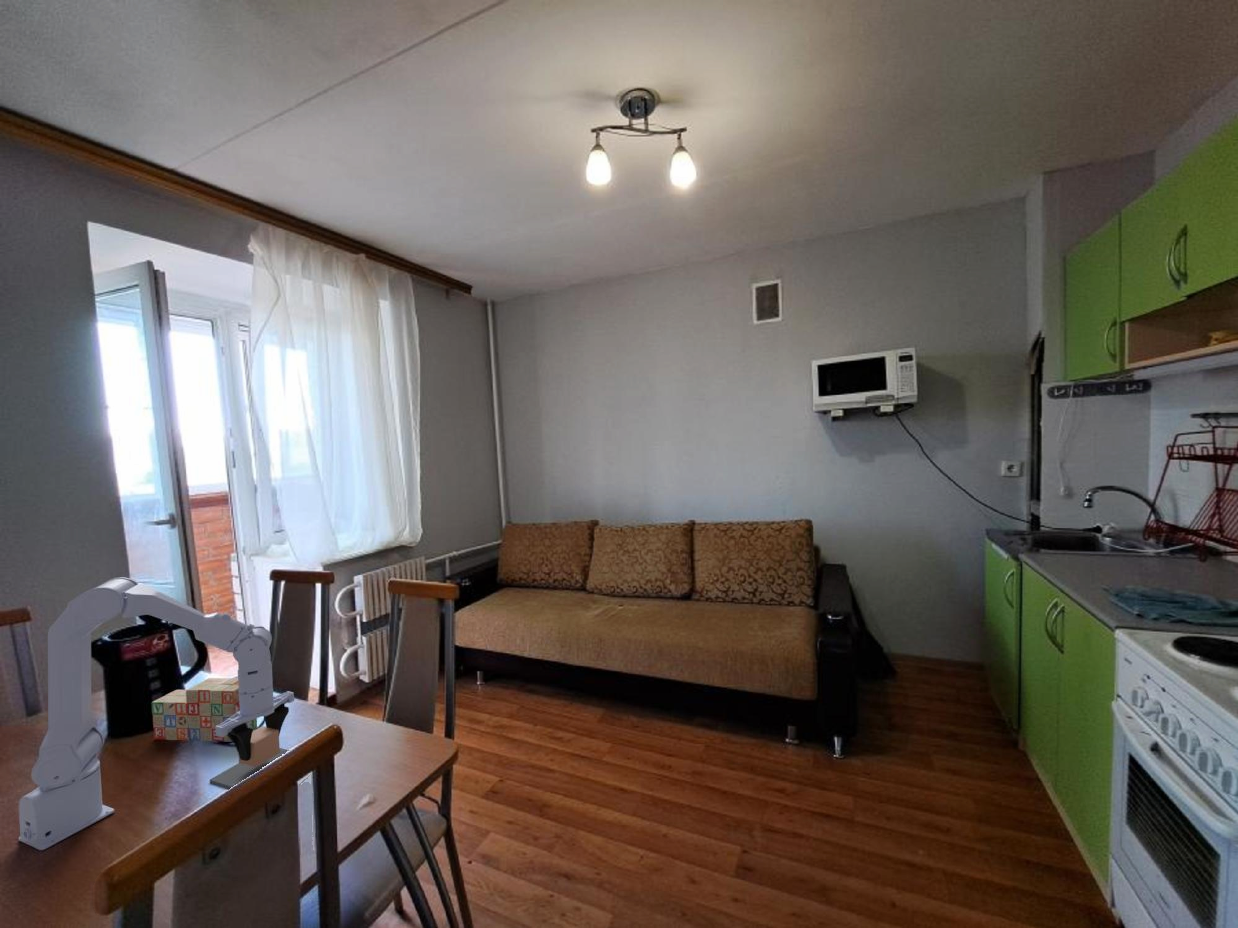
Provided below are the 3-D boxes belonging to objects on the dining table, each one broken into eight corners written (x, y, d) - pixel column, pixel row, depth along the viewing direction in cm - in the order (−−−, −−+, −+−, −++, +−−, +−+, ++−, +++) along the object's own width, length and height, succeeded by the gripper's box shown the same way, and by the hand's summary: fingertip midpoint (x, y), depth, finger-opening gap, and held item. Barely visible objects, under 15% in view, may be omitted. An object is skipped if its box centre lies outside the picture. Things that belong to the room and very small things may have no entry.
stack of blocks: (152, 740, 114) (149, 689, 114) (179, 725, 121) (176, 676, 120) (236, 742, 113) (233, 690, 112) (258, 726, 119) (255, 677, 119)
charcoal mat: (249, 794, 94) (249, 791, 94) (209, 782, 98) (209, 779, 98) (307, 757, 105) (307, 754, 105) (269, 747, 110) (269, 745, 110)
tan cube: (255, 767, 99) (253, 743, 98) (238, 762, 100) (237, 739, 100) (279, 752, 103) (278, 729, 103) (263, 748, 105) (262, 725, 105)
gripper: (230, 707, 93) (234, 776, 94) (302, 674, 107) (305, 734, 107) (207, 702, 96) (211, 769, 96) (280, 670, 109) (283, 729, 110)
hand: (259, 750), depth 102 cm, fingers closed on tan cube, 5 cm apart
